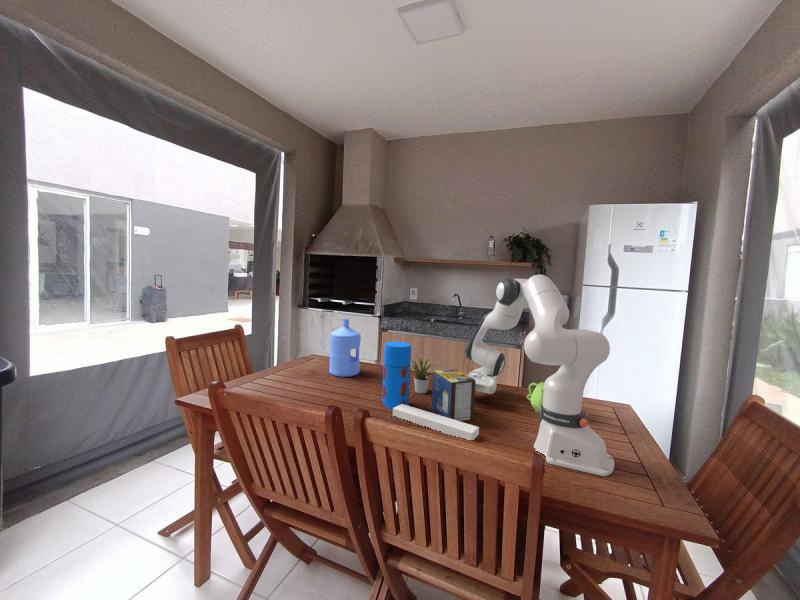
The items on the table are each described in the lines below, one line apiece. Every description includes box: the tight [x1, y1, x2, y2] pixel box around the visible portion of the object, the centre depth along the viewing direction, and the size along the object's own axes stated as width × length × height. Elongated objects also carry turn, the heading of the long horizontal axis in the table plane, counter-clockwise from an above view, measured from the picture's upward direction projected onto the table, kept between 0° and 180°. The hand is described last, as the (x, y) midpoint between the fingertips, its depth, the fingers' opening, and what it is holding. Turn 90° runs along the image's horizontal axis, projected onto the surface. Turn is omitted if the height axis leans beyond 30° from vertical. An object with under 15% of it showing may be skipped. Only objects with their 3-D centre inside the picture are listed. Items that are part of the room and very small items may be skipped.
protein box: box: [431, 368, 476, 422], centre depth 141 cm, size 10×15×16 cm
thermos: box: [382, 341, 412, 410], centre depth 148 cm, size 11×11×25 cm
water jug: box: [329, 318, 362, 378], centre depth 189 cm, size 16×16×28 cm
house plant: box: [410, 356, 438, 394], centre depth 166 cm, size 14×14×16 cm
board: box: [392, 404, 480, 441], centre depth 131 cm, size 32×6×3 cm, turn 55°
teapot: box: [526, 381, 545, 414], centre depth 147 cm, size 16×14×13 cm
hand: (463, 387), depth 150 cm, fingers closed
